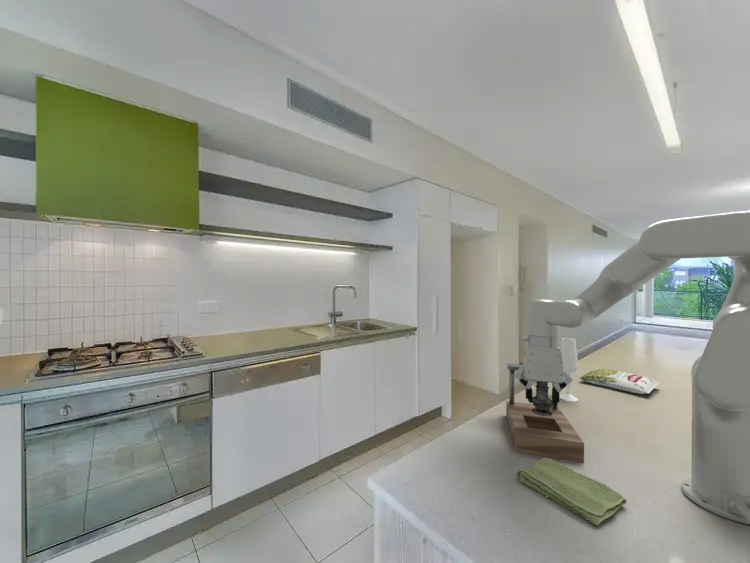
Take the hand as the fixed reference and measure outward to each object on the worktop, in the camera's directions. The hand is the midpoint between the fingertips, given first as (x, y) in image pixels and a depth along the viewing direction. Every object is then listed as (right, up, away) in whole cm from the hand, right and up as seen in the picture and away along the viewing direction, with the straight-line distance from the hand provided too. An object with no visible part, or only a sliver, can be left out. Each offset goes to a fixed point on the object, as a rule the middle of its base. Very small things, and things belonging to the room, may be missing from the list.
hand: (542, 402), depth 90 cm
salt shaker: (0, -3, 0) cm, 3 cm away
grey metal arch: (+4, -6, +12) cm, 14 cm away
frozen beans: (+62, -13, +50) cm, 80 cm away
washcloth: (-6, -12, -22) cm, 26 cm away
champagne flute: (+29, -12, +34) cm, 46 cm away
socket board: (+1, -11, +3) cm, 12 cm away
